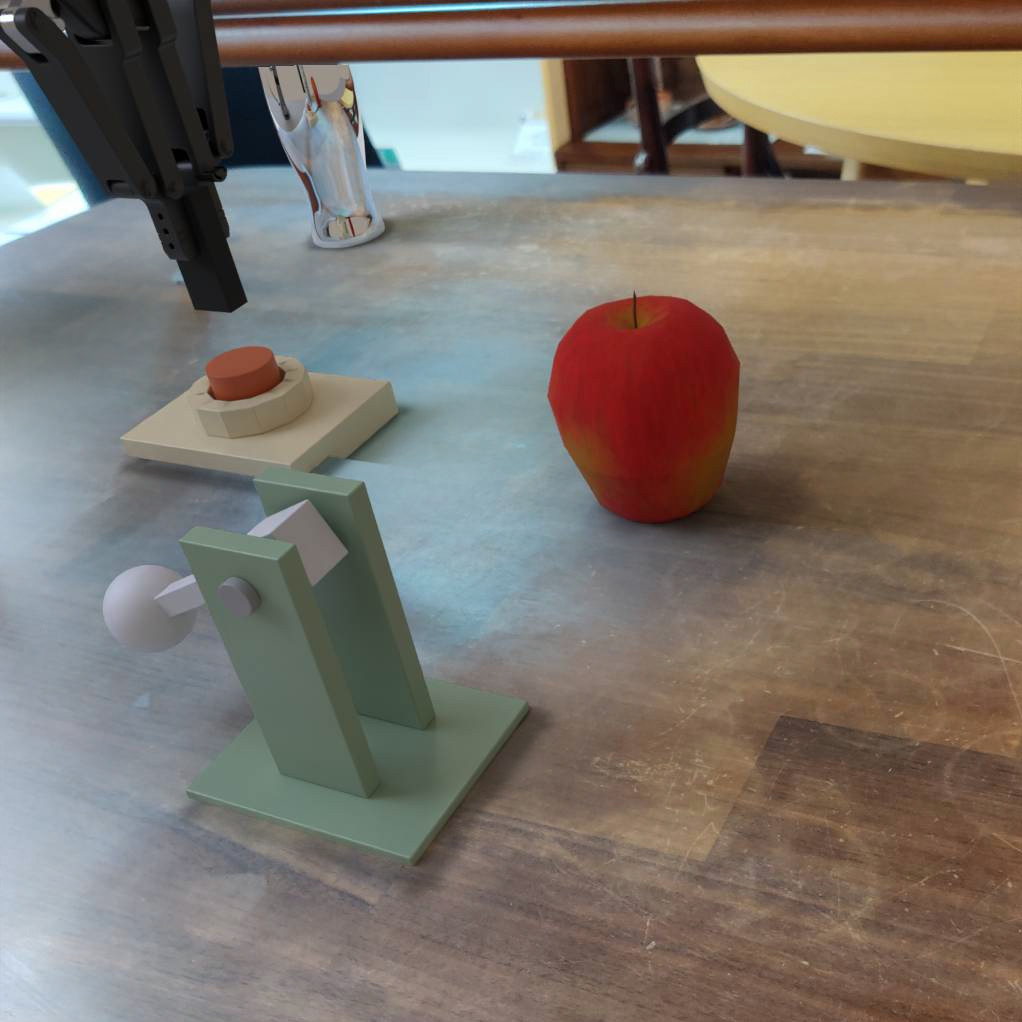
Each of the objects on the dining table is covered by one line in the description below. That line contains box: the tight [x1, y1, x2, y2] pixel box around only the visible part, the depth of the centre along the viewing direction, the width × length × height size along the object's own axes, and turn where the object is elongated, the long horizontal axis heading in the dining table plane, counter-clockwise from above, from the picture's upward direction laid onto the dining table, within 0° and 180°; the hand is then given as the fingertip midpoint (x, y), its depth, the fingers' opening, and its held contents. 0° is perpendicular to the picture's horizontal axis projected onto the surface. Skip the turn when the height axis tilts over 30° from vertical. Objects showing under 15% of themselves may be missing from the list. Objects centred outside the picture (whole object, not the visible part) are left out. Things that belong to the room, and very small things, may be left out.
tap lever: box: [102, 499, 348, 654], centre depth 46 cm, size 13×4×4 cm, turn 65°
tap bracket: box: [178, 467, 530, 867], centre depth 46 cm, size 11×9×13 cm
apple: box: [546, 290, 741, 523], centre depth 59 cm, size 9×9×12 cm
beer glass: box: [257, 64, 386, 249], centre depth 96 cm, size 7×7×15 cm
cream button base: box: [119, 354, 399, 478], centre depth 72 cm, size 13×10×4 cm
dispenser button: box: [204, 345, 282, 402], centre depth 71 cm, size 4×4×2 cm
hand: (221, 305), depth 68 cm, fingers closed
